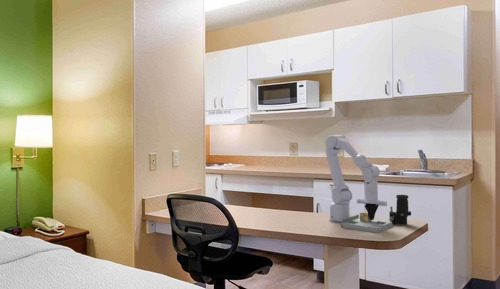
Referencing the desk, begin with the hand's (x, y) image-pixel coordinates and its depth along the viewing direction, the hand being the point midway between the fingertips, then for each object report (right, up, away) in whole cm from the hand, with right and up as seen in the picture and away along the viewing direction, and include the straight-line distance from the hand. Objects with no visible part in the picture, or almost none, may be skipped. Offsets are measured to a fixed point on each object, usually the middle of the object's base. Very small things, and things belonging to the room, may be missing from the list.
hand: (371, 219), depth 197 cm
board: (-3, -3, -1) cm, 4 cm away
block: (-2, -1, +3) cm, 4 cm away
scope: (+15, -3, +3) cm, 15 cm away
